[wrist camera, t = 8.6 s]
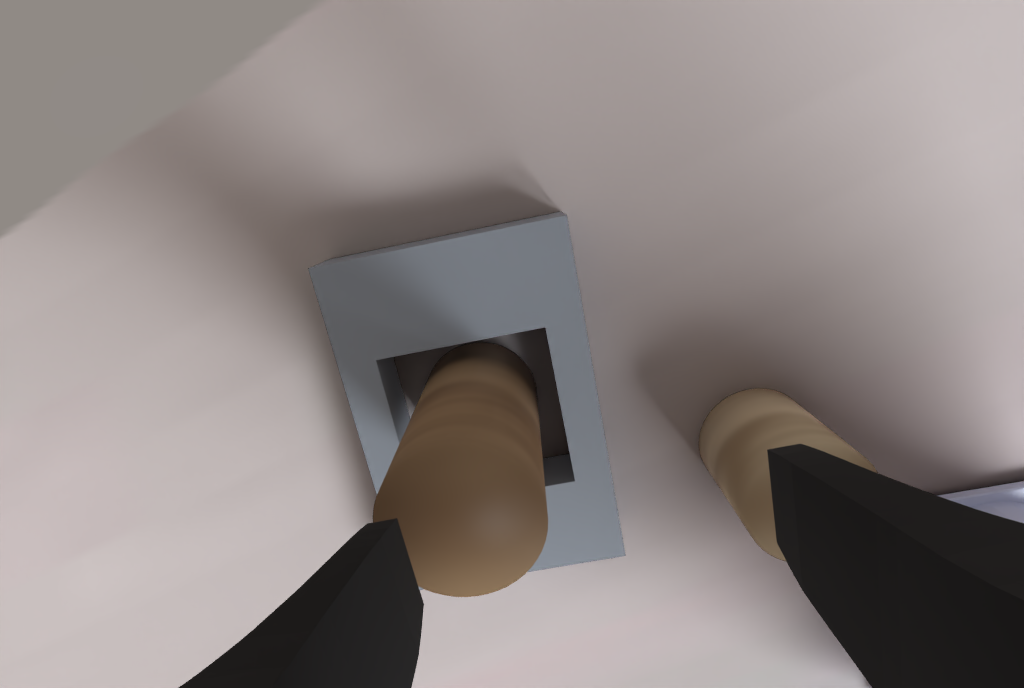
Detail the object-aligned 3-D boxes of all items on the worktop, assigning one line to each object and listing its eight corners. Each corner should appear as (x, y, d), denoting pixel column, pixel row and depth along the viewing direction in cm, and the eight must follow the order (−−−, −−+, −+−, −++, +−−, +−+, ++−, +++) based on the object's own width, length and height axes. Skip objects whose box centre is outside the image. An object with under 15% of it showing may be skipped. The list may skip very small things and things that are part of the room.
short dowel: (810, 476, 22) (884, 551, 17) (705, 495, 22) (751, 573, 17) (804, 378, 20) (881, 432, 16) (692, 399, 21) (739, 457, 16)
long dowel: (544, 436, 21) (560, 584, 13) (439, 453, 21) (395, 607, 14) (526, 334, 20) (532, 430, 12) (415, 352, 20) (353, 458, 13)
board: (616, 522, 22) (625, 555, 20) (415, 557, 23) (406, 592, 21) (561, 211, 19) (566, 215, 17) (328, 259, 19) (308, 268, 17)
